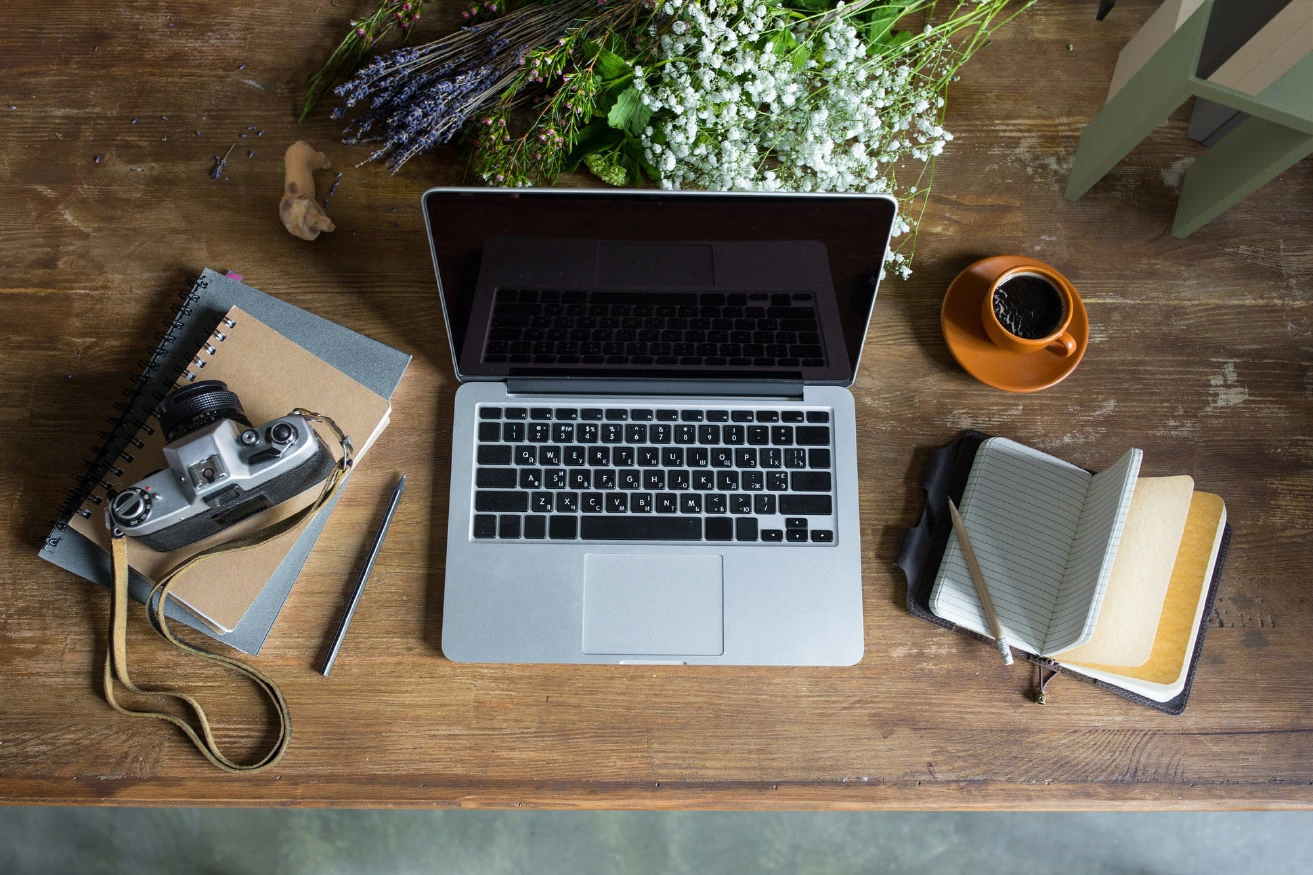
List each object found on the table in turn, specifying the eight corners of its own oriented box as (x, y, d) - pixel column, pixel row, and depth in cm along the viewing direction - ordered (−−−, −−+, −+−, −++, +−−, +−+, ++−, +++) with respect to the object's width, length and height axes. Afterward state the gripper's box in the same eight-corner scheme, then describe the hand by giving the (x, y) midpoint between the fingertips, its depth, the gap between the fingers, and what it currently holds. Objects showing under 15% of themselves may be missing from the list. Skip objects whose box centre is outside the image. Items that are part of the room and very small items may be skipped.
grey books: (1230, 90, 100) (1310, 21, 88) (1216, 150, 98) (1296, 87, 86) (1199, 80, 100) (1275, 10, 88) (1185, 139, 98) (1260, 75, 87)
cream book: (1137, 58, 101) (1210, -21, 88) (1121, 117, 99) (1194, 44, 86) (1119, 52, 101) (1189, -28, 88) (1103, 110, 99) (1173, 37, 86)
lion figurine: (353, 257, 91) (323, 219, 82) (306, 268, 91) (272, 231, 82) (329, 146, 94) (298, 99, 85) (284, 156, 94) (249, 109, 85)
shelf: (1198, 170, 97) (1360, 45, 76) (1182, 240, 95) (1343, 132, 74) (1082, 130, 98) (1209, -5, 77) (1062, 198, 96) (1188, 79, 74)
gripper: (1271, -49, 101) (1238, 86, 96) (1083, -112, 102) (1043, 19, 97) (1321, -101, 93) (1289, 43, 89) (1118, -168, 95) (1076, -29, 90)
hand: (1160, 31), depth 93 cm, fingers open, 13 cm apart
